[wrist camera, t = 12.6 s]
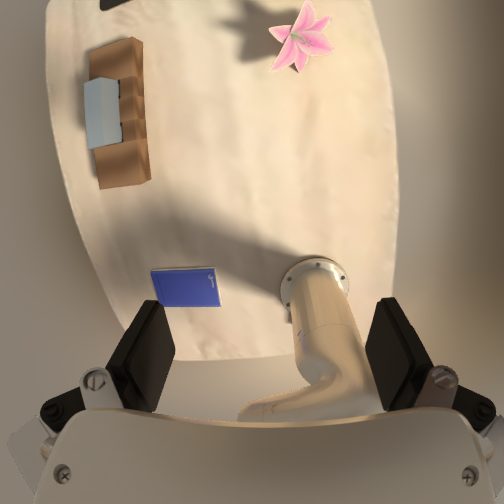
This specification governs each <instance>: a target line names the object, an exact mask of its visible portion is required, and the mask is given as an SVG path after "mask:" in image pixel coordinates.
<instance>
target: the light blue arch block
mask: <svg viewBox="0 0 504 504" xmlns="http://www.w3.org/2000/svg"><path fill="white" fill-rule="evenodd" d="M119 99H120V84H118V80H113V79H108V78H102V77H100V78H97V79H94V80H91V81H88V82H86V83H84V107H85V122H86V133H87V143H88V149H92V148H96V147H101V146H105V145H110V144H114V143H119V142H122V139H123V130H122V126H120V114H119Z"/></svg>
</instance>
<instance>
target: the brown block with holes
mask: <svg viewBox="0 0 504 504" xmlns="http://www.w3.org/2000/svg"><path fill="white" fill-rule="evenodd" d="M100 77H102V78H108V79H113V80H118V84H120V99H119V114H120V124H122V130H123V141H124V142H122V143H114V144H110V145H105V146H101V147H96V148H94V154H95V162H96V169H97V176H98V182H99V188H100V190H101V189H108V188H115V187H123V186H131V185H139V184H143V183H145V182H146V181H148V180H150V179H151V172H150V164H149V154H148V144H147V133H146V121H145V105H144V84H143V42H141V41H139V40H138V39H136V38H134V37H130V38H127V39H124V40H121V41H118V42H115V43H112V44H109V45H106V46H104V47H101V48H98V49H96V50H93V51H91V52H90V81H91V80H94V79H97V78H100Z"/></svg>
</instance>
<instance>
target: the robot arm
mask: <svg viewBox="0 0 504 504" xmlns="http://www.w3.org/2000/svg"><path fill="white" fill-rule="evenodd" d="M317 262H318V263H317ZM348 292H349V281H348V277H347V275H346V273H345V271H344V270H343V269H342V267H341V266H340V265H338V264H337V263H335V262H333V261H331V260H329V259H324V258H312V259H307V260H304V261H301V262H300V263H298V264H296V265H294V266H293V267H292V268H291V269H290V270H289V271H288V272H287V273H286V274H285V276H284V278H283V280H282V283H281V288H280V294H281V299H282V302H283V304H284V306H285V307H286V308H287V309H288V310H289V311H290V312H291V316H292V326H293V337H294V348H295V359H296V365H297V368H298V370H299V372H300V373H301V375H302V377H303V378H304V379H305V380H306V381H307V382H308V383H310V384H311V386H307V387H304V388H302V389H299V390H295V391H291V392H287V393H282V394H278V395H273V396H269V397H265V398H260V399H256V400H253V401H251V402H249V403H247V404H246V405H245V406H244V407H243V408H242V409H241V411H240V412H239V415H238V419H237V422H229V421H212V420H202V419H193V418H184V417H177V416H169V415H162V414H156V413H152V411H153V412H154V411H155V410H156V408H157V405H158V401H159V399H160V396H161V393H162V390H163V387H164V384H165V381H166V378H167V375H168V372H169V370H170V367H171V364H172V361H173V358H174V355H175V345H174V342H173V338H172V335H171V332H170V328H169V325H168V321H167V318H166V314H165V310H164V307H163V305H162V304H160V303H159V301H157V300H145V301H144V303H143V305H142V306H141V308H140V310H139V311H138V313H137V315H136V316H135V318H134V320H133V321H132V323H131V325H130V326H129V328H128V329H127V330H126V332H125V333H124V335H123V337H122V339H121V340H120V342H119V344H118V346H117V347H116V349H115V351H114V353H113V355H112V357H111V358H110V360H109V362H108V364H107V366H106V367H105V369H104V368H101V367H95V368H91V369H89V370H87V371H86V372H85V373H84V374H83V375H82V377H81V378H80V387H78V388H75V389H73V390H71V391H68V392H66V393H64V394H62V395H59V396H57V397H54V398H52V399H50V400H48V401H46V402H45V403H44V404H43V406H42V408H41V411H40V416H39V417H37V416H34V417H33V418H32V419H31V420H29V421H28V422H26V423H25V424H24V425H23V426H21V427H20V428H19V429H17V430H16V431H15V432H14V433H12V434H11V435H10V437H9V439H8V448H9V451H10V453H11V455H12V457H13V459H14V461H15V463H16V464H17V466H18V468H19V470H20V472H21V473H22V475H23V477H24V479H25V480H26V482H27V483H28V485H29V487H30V488H31V490H32V491H33V493H34V495H35V497H34V501H33V504H496V502H495V498H496V497H497V495H498V494H499V492H500V491H501V489H502V488H503V486H504V417H503V416H501V415H499V416H497V415H496V408H495V405H494V404H493V402H492V401H491V400H490V399H488V398H486V397H484V396H482V395H480V394H477V393H475V392H473V391H471V390H469V389H467V388H464V387H462V386H460V385H458V382H459V379H458V375H457V374H456V372H455V371H454V370H453V369H452V368H450V367H448V366H444V365H438V366H434V365H433V363H432V361H431V359H430V357H429V356H428V354H427V352H426V350H425V348H424V346H423V344H422V342H421V341H420V339H419V337H418V335H417V333H416V331H415V330H414V328H413V326H412V325H410V323H409V321H408V319H407V317H406V316H405V314H404V312H403V310H402V309H401V307H400V305H399V304H398V302H397V300H396V299H395V298H394V297H389V298H382V299H381V301H379V302H377V305H376V309H375V313H374V317H373V321H372V324H371V328H370V332H369V335H368V338H367V342H366V345H365V347H364V345H363V342H362V339H361V336H360V333H359V330H358V328H357V325H356V322H355V319H354V317H353V314H352V311H351V309H350V306H349V303H348V301H347V298H346V297H347V295H348Z"/></svg>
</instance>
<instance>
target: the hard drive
mask: <svg viewBox="0 0 504 504" xmlns="http://www.w3.org/2000/svg"><path fill="white" fill-rule="evenodd" d="M151 276H152V280H153V283H154V286H155V290H156V293H157V296H158V299H159V302H160V304H162V305H163V307H220V306H222V302H221V296H220V291H219V285H218V280H217V274H216V268H215V267H199V268H178V269H155V270H151Z"/></svg>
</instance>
